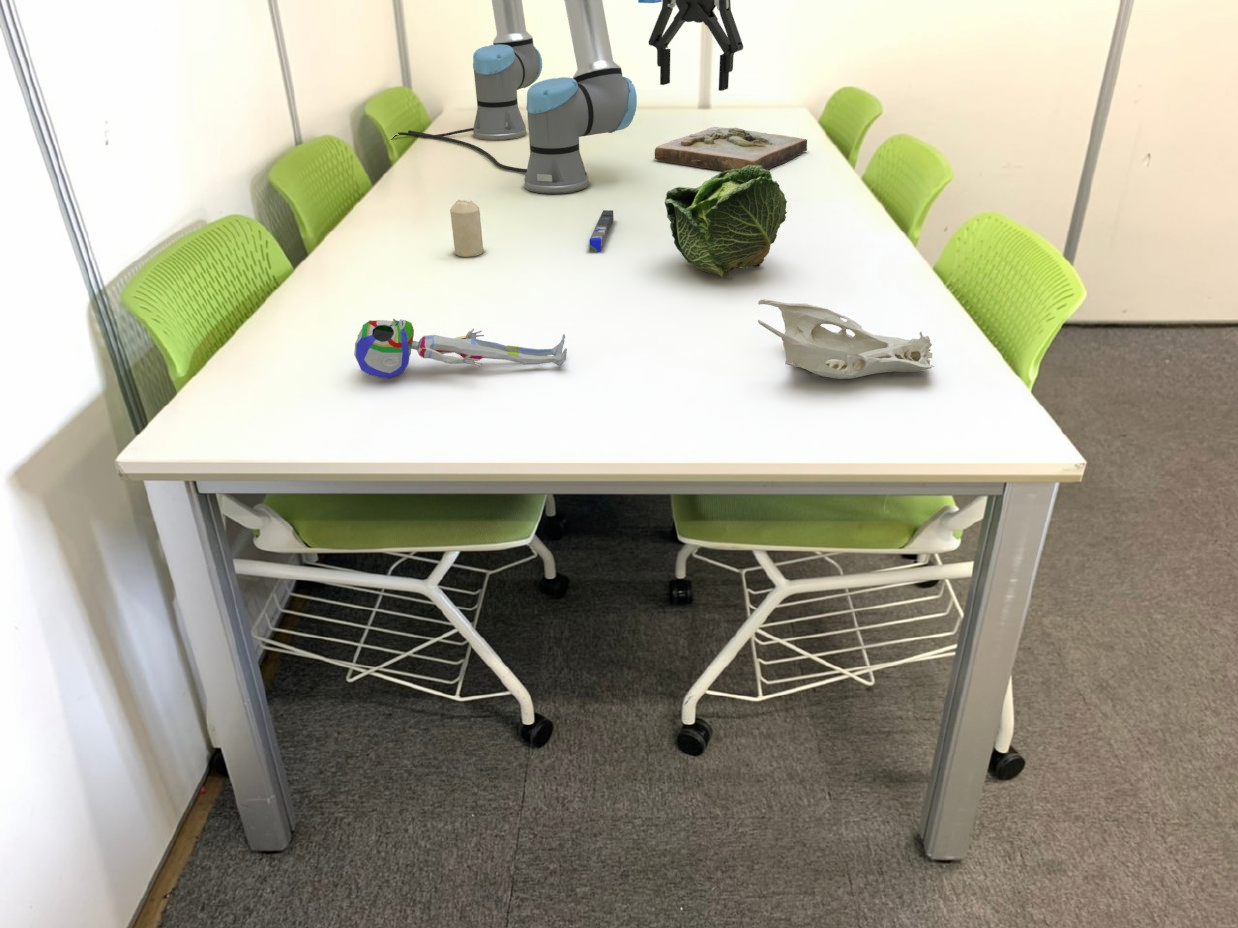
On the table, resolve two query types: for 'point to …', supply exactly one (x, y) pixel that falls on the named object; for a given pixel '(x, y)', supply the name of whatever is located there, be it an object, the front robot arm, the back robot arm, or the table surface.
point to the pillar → (601, 230)
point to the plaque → (730, 149)
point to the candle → (466, 228)
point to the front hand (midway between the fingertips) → (693, 87)
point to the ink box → (649, 1)
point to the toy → (435, 349)
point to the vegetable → (727, 219)
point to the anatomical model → (844, 345)
